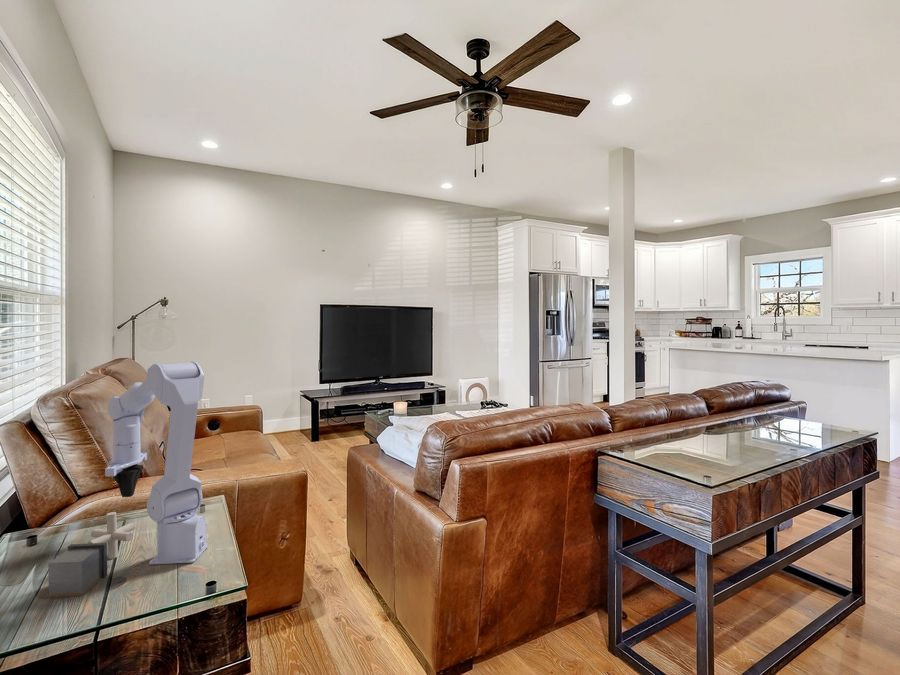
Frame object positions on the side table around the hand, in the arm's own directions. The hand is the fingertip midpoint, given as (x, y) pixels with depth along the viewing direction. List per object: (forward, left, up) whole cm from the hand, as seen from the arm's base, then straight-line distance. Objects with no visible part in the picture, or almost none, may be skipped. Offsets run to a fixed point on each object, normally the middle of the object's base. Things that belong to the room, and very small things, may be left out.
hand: (127, 496), depth 120 cm
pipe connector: (-4, +13, -10) cm, 17 cm away
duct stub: (-5, +26, -9) cm, 28 cm away
